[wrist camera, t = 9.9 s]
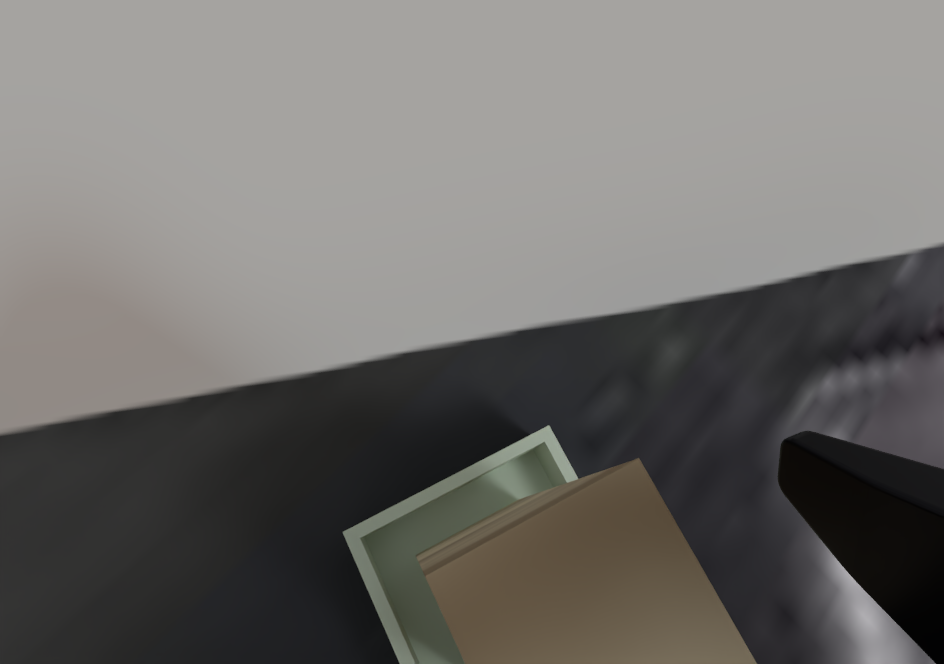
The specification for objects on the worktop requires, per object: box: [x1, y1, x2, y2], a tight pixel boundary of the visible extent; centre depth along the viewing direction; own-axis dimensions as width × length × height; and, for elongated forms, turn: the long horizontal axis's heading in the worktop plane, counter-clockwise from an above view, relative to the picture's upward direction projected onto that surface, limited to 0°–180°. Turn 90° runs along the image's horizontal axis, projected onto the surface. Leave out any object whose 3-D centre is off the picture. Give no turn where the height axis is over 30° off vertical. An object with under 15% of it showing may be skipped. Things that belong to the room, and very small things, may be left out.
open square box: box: [343, 426, 578, 664], centre depth 20 cm, size 7×7×3 cm
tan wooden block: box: [416, 458, 757, 664], centre depth 15 cm, size 4×4×12 cm
